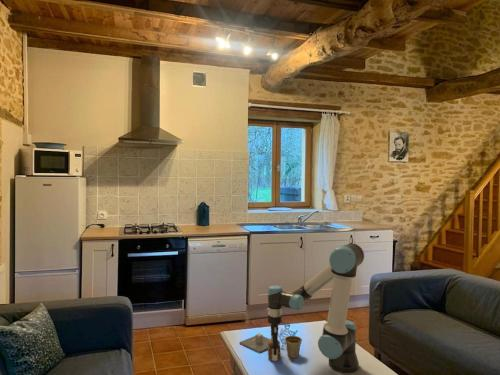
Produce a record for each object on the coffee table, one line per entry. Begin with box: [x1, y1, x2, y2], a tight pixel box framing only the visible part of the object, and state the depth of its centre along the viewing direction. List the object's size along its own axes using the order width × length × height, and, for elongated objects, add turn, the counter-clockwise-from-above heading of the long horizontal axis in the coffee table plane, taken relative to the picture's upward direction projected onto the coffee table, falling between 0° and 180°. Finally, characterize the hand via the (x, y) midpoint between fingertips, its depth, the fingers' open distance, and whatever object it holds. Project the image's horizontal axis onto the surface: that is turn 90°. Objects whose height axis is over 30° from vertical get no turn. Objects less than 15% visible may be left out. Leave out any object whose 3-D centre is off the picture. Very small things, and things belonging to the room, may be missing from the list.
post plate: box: [239, 333, 271, 354], centre depth 213 cm, size 16×16×6 cm
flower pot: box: [284, 335, 303, 358], centre depth 200 cm, size 9×9×9 cm
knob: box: [267, 340, 281, 360], centre depth 198 cm, size 6×6×8 cm
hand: (274, 354), depth 198 cm, fingers open, 13 cm apart
